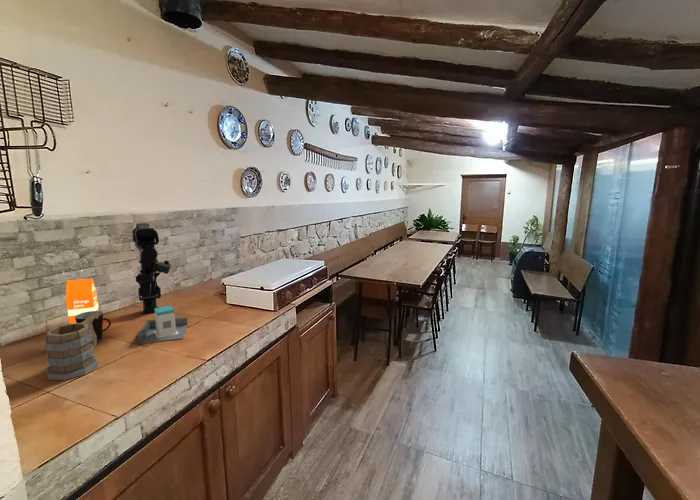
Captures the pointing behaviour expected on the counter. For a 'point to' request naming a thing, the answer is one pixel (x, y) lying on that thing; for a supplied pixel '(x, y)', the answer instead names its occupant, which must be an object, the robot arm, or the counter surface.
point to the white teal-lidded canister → (165, 321)
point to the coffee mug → (94, 322)
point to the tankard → (71, 349)
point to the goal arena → (150, 335)
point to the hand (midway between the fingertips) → (150, 292)
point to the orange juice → (80, 297)
